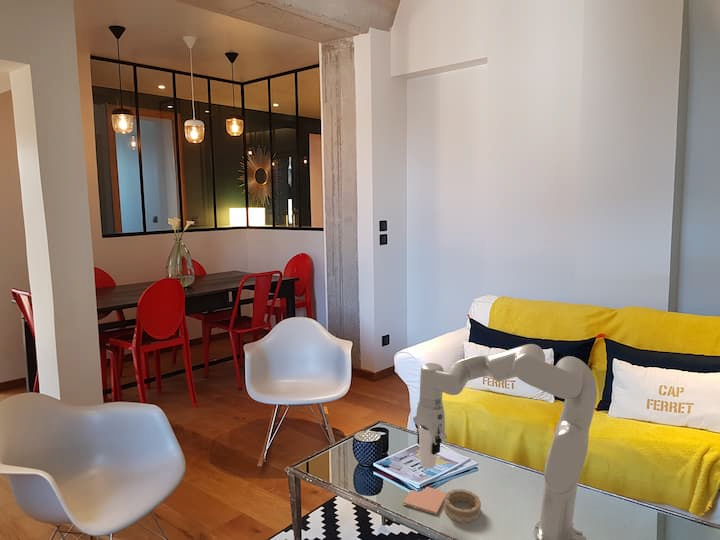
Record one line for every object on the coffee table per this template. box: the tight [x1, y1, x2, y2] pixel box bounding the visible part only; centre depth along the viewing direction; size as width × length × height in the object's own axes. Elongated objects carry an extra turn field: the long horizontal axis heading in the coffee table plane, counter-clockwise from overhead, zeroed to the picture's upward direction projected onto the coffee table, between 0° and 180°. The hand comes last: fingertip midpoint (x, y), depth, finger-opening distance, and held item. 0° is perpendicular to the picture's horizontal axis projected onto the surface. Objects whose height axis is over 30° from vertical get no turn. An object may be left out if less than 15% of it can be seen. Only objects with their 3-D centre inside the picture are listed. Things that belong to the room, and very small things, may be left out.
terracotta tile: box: [402, 486, 448, 515], centre depth 195 cm, size 12×12×1 cm
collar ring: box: [443, 488, 482, 523], centre depth 190 cm, size 12×12×4 cm
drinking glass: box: [418, 425, 438, 470], centre depth 190 cm, size 7×7×15 cm
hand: (428, 447), depth 190 cm, fingers closed on drinking glass, 6 cm apart
